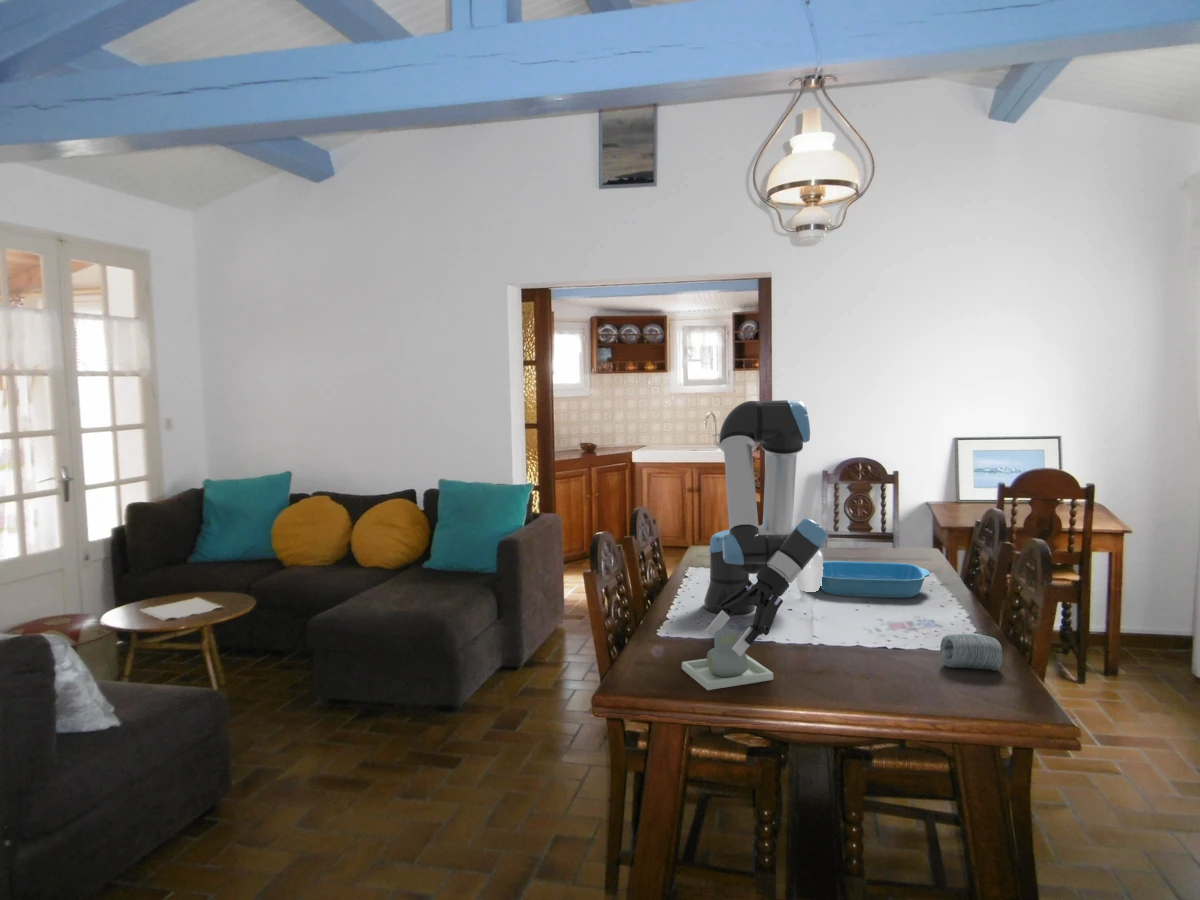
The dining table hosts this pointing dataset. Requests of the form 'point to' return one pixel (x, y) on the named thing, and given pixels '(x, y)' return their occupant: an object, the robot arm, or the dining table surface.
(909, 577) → the casserole dish
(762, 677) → the sage tray
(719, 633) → the air freshener
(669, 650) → the dining table surface
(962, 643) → the spool
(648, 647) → the dining table surface
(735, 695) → the dining table surface
